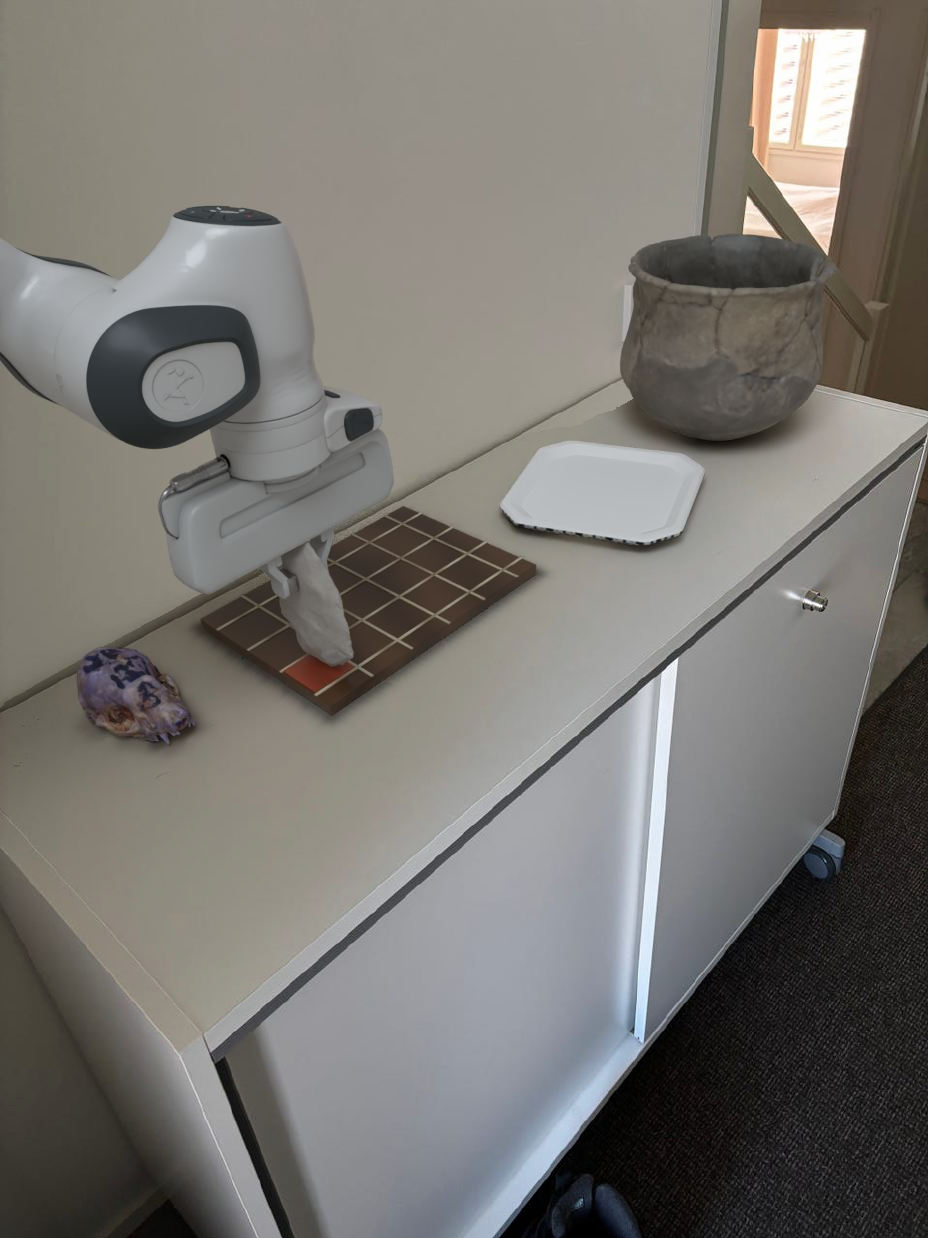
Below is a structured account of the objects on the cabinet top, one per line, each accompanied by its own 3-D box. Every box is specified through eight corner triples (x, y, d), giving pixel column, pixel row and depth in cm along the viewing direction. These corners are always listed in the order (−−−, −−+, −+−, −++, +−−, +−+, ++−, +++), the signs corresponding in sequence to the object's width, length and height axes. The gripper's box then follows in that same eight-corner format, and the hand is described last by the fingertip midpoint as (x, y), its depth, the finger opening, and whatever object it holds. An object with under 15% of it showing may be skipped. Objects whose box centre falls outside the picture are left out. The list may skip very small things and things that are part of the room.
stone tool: (283, 654, 86) (230, 527, 76) (305, 631, 87) (256, 505, 77) (359, 685, 81) (313, 555, 71) (381, 661, 83) (339, 531, 73)
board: (331, 715, 80) (329, 704, 80) (202, 628, 92) (199, 617, 91) (536, 574, 96) (536, 562, 95) (404, 514, 107) (403, 503, 107)
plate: (709, 472, 111) (710, 455, 110) (674, 563, 96) (676, 545, 95) (545, 452, 118) (545, 436, 117) (489, 533, 103) (488, 516, 102)
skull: (218, 720, 80) (191, 670, 76) (143, 777, 76) (111, 728, 73) (151, 667, 87) (123, 619, 83) (80, 716, 84) (47, 669, 80)
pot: (844, 422, 120) (879, 251, 107) (739, 488, 108) (764, 305, 95) (687, 374, 135) (700, 220, 122) (579, 427, 123) (581, 263, 110)
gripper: (177, 501, 62) (221, 659, 70) (396, 399, 73) (412, 545, 82) (128, 474, 66) (176, 628, 74) (344, 381, 77) (365, 523, 85)
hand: (301, 584), depth 78 cm, fingers closed on stone tool, 2 cm apart
